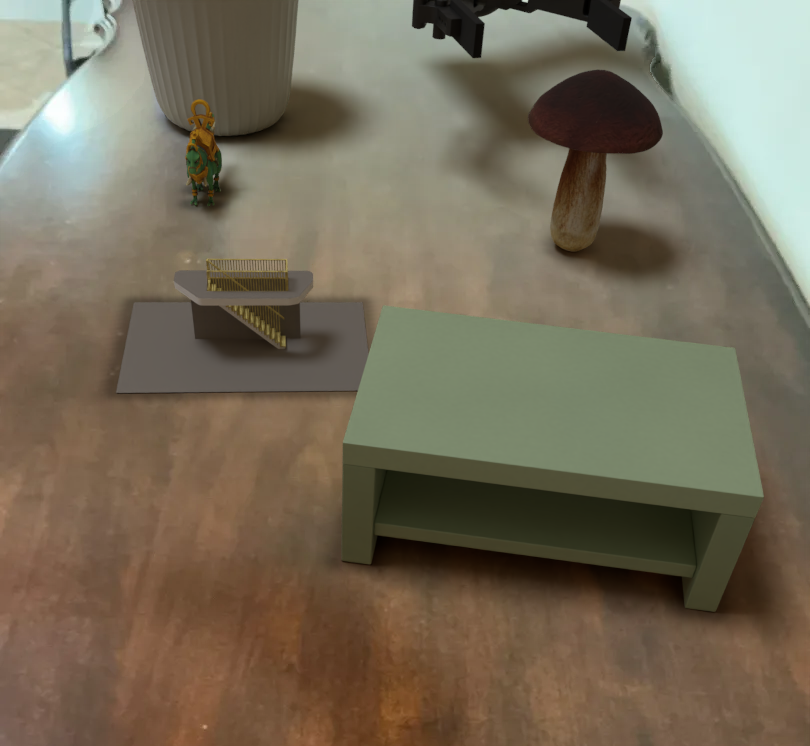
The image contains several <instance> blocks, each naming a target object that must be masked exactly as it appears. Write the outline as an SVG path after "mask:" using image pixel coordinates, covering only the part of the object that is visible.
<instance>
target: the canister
mask: <svg viewBox="0 0 810 746" xmlns="http://www.w3.org/2000/svg"><path fill="white" fill-rule="evenodd" d="M131 2H132V6H133V9H134V13H135V19H136V23H137V29H138V32H139V37H140V41H141V45H142V49H143V54H144V58H145V62H146V65H147V69H148V74H149V77H150V81H151V86H152V88H153V92H154V96H155V98H156V101H157V104H158V106H159V108H160V109H161V111H162V113H163V114H164V116H165V117H166V118H167V119H168V120H169V121H170V122H172V123H173V124H174V125H176V126H178V127H179V128H181V129H185V130H186V131H188V132H192V131H193V129H194V127H195V123H194V124H192V125H190V124H189V122H188V120H187V119H188V118H190V117H192V116H194V115H193V113H192V111H191V105H192V103H193V102H194V101H195V100H198V99H201V100H204V101H205V102H207V103H208V105H209V106H210V110H211V111H210V112H212V113H213V114H214V120H215V121H214V122H215V130H214V133H215V134H214V136H218V137H231V136H232V137H233V136H242V135H244V136H245V135H247V134H254V133H255V132H256V133H257V132H261V131H262V130H265V129H268V128H269V127H271V126H274V124H276V123H277V122H279V120H280V119H281V118H282V117H283V115H284V113H285V111H286V110H287V106H288V103H289V100H290V95H291V88H292V79H293V70H294V69H293V68H294V62H295V61H294V60H295V59H294V58H295V49H296V36H297V27H298V26H297V24H298V12H299V0H131ZM195 111H196V115H199V114H203V115H206V108H205V106H204V105H202V104H197V105H196V107H195ZM171 120H172V121H171ZM199 120H200V122H201V124H202V123H203V120H204V119H201V118H199ZM191 121H192V122H194V121H193V120H191Z"/></svg>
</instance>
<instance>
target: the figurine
mask: <svg viewBox="0 0 810 746" xmlns="http://www.w3.org/2000/svg"><path fill="white" fill-rule="evenodd" d="M197 104H202V105H204V106H205V108H206V115H203V114H199V115H196V111H195V107H196V105H197ZM191 111H192V113H193V115H194V116H192V117H190V118H188V119H187V120H188V122H189V124H190V125H192V124H194V123H195V127H194V129H193V131H190V133H189V138H188V139H189V141H188V142H187V146H186V148H185V150H186V154H185V157H184V160H185V163H186V164H185V165H186V175H187V181H186V183H185V185H186V186H190V185H191V195H192V198H193V199H192V200H191V201H190V202H189V203H190V205H193V204H194V206H197V205H198V196H199V192H198V191H203V190H204V188H203V187H207V186H208V189H207V197H208V201H207V207H210V206H211V205H212V206H215V201H214V200H213V197H214V195H215V193H217V192H218V193H221V191H222V189H221V187H220V184H219V180H220V173H221V171H222V168H223V156H222V151H221V149H220V147H219V146H218V144H217V142H216V138H215V135H214V134H215V133H214V130H215V122H214V121H215V120H214V114H213V113H212V112H210V111H211V110H210V106H209V105H208V103H207V102H205V101H204V100H201V99H198V100H195V101H194V102H193V103H192V105H191ZM199 118H201V119H204V120H203V123H202V124H201V122H200V120H199ZM191 120H193V121H194V122H192V121H191ZM214 192H215V193H214Z"/></svg>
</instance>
